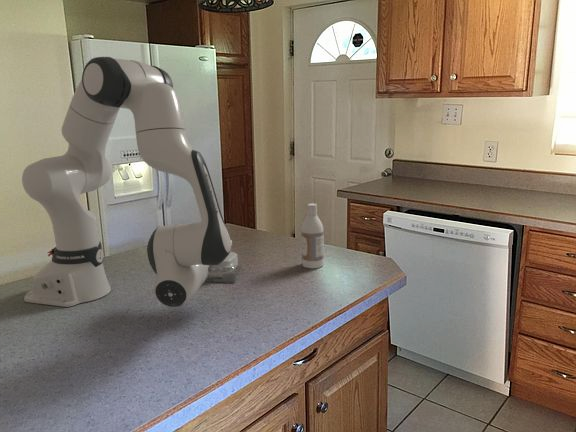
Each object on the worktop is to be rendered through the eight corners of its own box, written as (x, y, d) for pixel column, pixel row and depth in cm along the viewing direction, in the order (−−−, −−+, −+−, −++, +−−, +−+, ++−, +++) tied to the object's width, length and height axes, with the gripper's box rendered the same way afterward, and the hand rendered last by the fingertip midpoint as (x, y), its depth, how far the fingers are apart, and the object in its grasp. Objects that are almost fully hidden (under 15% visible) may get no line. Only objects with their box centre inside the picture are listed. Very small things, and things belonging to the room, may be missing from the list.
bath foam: (298, 263, 160) (297, 203, 155) (317, 260, 162) (317, 201, 158) (307, 270, 154) (306, 207, 149) (327, 267, 156) (327, 205, 151)
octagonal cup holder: (194, 282, 146) (193, 261, 145) (205, 268, 158) (204, 248, 156) (234, 282, 145) (233, 261, 143) (242, 268, 156) (241, 249, 155)
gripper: (231, 258, 122) (242, 241, 135) (151, 256, 124) (169, 240, 137) (232, 282, 123) (243, 263, 137) (153, 279, 125) (171, 261, 139)
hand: (205, 251), depth 137 cm, fingers open, 8 cm apart
